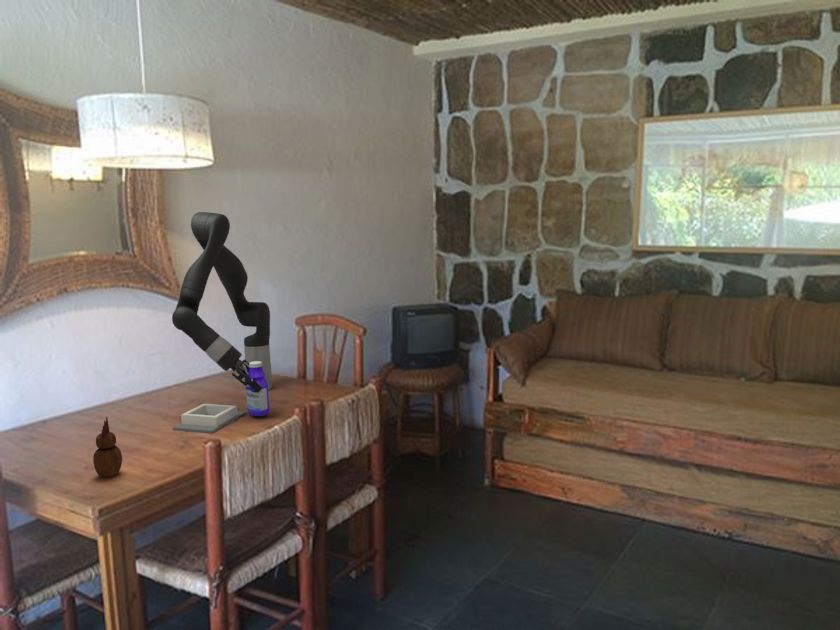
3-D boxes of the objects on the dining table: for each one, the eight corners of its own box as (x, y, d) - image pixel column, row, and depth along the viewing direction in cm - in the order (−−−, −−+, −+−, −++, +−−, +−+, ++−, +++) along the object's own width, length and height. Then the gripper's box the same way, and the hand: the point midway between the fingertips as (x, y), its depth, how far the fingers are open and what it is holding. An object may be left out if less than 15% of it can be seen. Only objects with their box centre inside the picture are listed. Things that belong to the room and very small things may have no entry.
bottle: (243, 414, 220) (241, 363, 217) (255, 410, 225) (253, 359, 222) (261, 418, 217) (258, 365, 214) (272, 413, 222) (270, 361, 219)
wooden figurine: (109, 469, 179) (104, 414, 176) (127, 471, 177) (122, 416, 174) (90, 478, 172) (84, 422, 170) (108, 481, 170) (103, 424, 168)
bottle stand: (208, 411, 228) (208, 400, 228) (245, 413, 225) (245, 402, 224) (172, 429, 209) (171, 418, 209) (212, 433, 206) (211, 421, 205)
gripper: (226, 350, 210) (266, 385, 212) (235, 340, 224) (273, 373, 227) (210, 367, 210) (250, 402, 213) (220, 356, 224) (257, 389, 227)
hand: (262, 387), depth 220 cm, fingers closed on bottle, 6 cm apart
